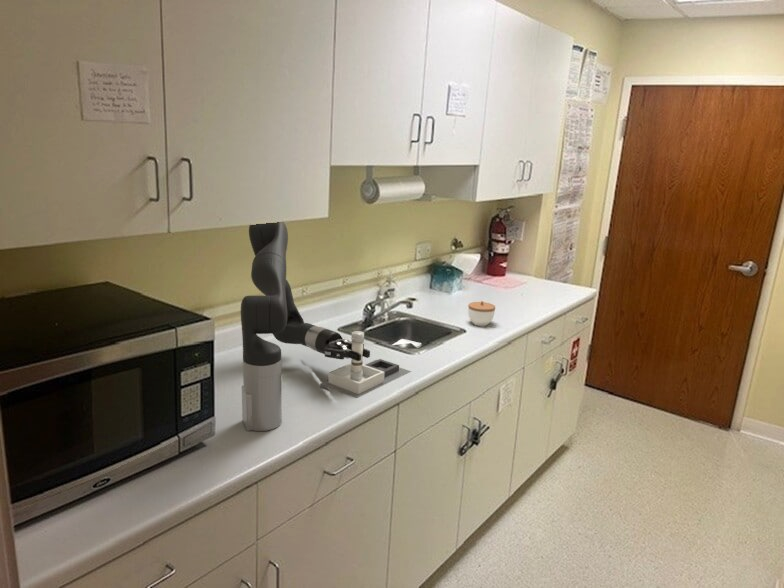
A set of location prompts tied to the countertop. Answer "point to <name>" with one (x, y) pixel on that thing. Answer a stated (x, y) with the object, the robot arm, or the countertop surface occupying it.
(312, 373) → the countertop surface
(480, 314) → the lidded jar
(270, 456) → the countertop surface
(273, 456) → the countertop surface
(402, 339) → the hard drive
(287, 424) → the countertop surface
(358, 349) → the white capped peg
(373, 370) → the grey board with tray
